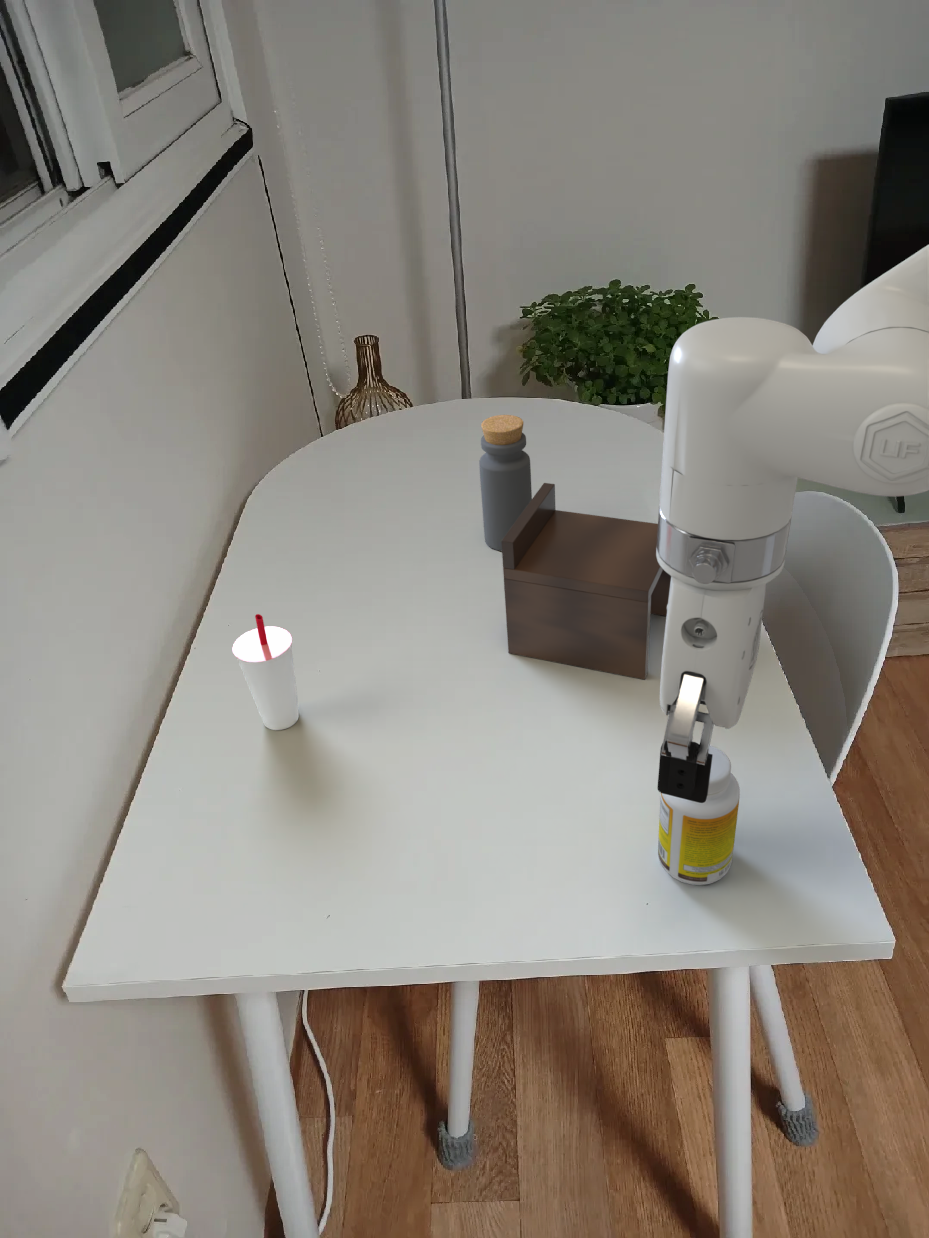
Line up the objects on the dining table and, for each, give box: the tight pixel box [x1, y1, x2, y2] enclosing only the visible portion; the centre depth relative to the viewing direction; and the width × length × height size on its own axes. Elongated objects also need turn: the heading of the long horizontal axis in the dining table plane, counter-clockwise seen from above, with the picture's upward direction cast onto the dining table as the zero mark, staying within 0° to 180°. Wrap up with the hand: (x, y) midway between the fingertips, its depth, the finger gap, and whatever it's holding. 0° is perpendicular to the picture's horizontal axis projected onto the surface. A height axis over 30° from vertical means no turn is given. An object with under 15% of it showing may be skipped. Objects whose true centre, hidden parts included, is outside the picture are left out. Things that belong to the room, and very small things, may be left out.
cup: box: [231, 613, 300, 731], centre depth 87 cm, size 5×5×12 cm
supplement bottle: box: [657, 745, 741, 886], centre depth 70 cm, size 6×6×10 cm
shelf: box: [501, 482, 671, 680], centre depth 94 cm, size 14×12×13 cm
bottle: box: [478, 414, 533, 552], centre depth 110 cm, size 6×6×15 cm
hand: (697, 746), depth 67 cm, fingers open, 9 cm apart
